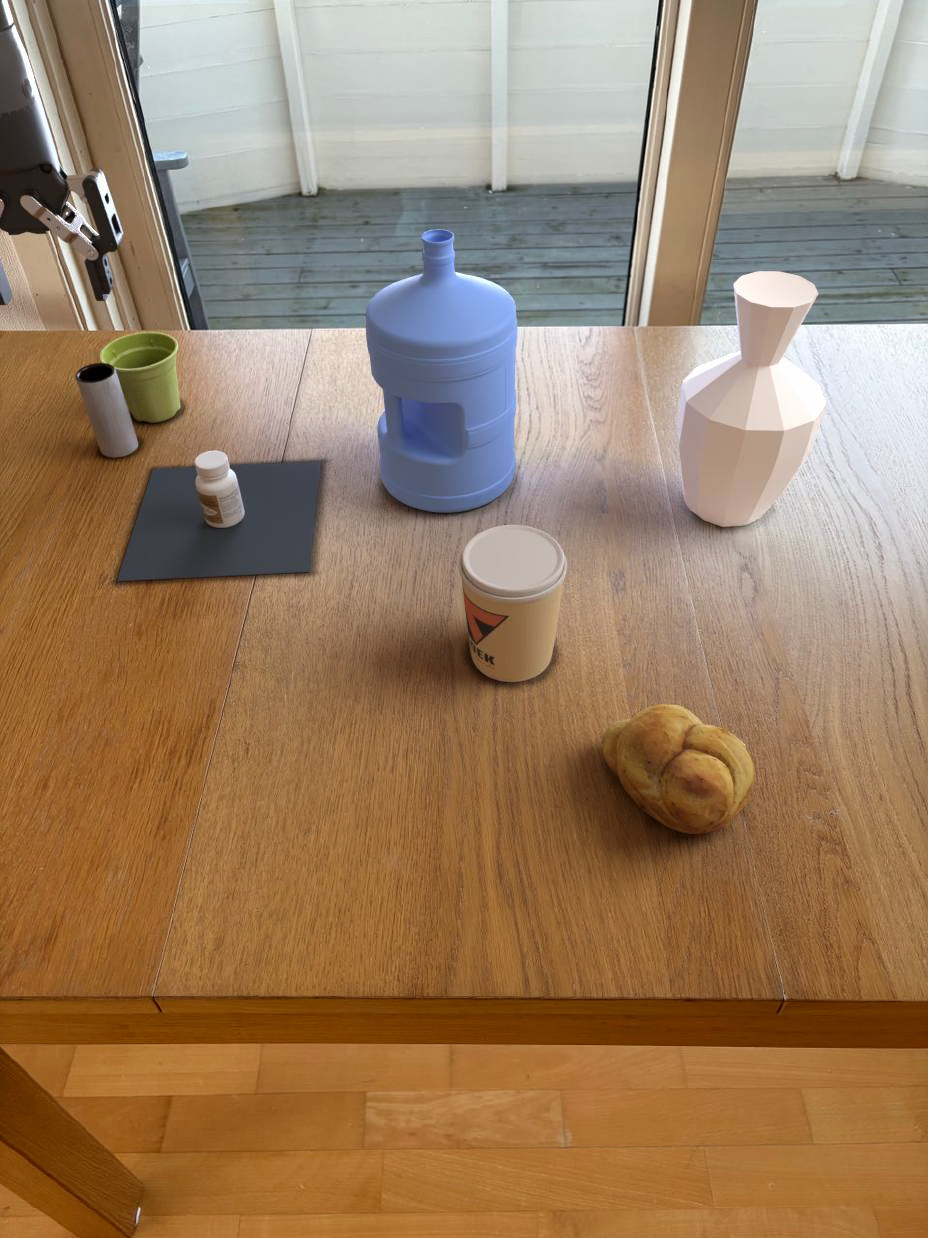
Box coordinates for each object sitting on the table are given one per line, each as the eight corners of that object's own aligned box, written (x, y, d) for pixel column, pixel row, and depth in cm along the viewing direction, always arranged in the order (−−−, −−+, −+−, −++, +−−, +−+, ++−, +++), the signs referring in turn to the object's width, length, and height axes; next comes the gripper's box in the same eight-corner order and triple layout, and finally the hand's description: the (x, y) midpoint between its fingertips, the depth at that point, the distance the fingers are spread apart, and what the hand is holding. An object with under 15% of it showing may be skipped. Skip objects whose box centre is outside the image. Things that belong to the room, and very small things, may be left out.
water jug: (466, 423, 118) (461, 192, 99) (542, 485, 109) (552, 242, 89) (356, 465, 112) (327, 228, 93) (426, 534, 103) (409, 286, 83)
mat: (117, 581, 98) (116, 581, 98) (153, 469, 113) (152, 468, 113) (309, 572, 99) (309, 571, 99) (321, 461, 113) (321, 460, 113)
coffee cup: (447, 634, 92) (442, 538, 83) (535, 607, 94) (539, 511, 86) (485, 701, 86) (483, 605, 77) (578, 671, 88) (586, 574, 80)
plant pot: (132, 439, 117) (112, 377, 111) (109, 405, 123) (89, 344, 117) (204, 416, 121) (188, 354, 115) (178, 384, 127) (162, 324, 121)
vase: (692, 554, 99) (734, 333, 82) (646, 476, 109) (674, 265, 92) (818, 534, 101) (885, 314, 84) (761, 459, 111) (811, 249, 94)
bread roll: (575, 766, 80) (581, 705, 75) (654, 710, 84) (665, 647, 79) (691, 870, 73) (708, 811, 67) (772, 802, 77) (793, 741, 72)
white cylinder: (103, 461, 114) (77, 385, 107) (98, 442, 117) (72, 367, 110) (141, 452, 115) (118, 376, 108) (135, 433, 118) (111, 358, 111)
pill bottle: (197, 516, 106) (181, 459, 100) (231, 500, 108) (217, 442, 103) (218, 534, 104) (203, 476, 98) (252, 517, 106) (239, 459, 100)
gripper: (92, 78, 75) (144, 277, 86) (-90, 84, 75) (-14, 283, 86) (68, 108, 69) (127, 316, 81) (-129, 114, 69) (-42, 322, 80)
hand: (54, 299), depth 83 cm, fingers open, 8 cm apart
